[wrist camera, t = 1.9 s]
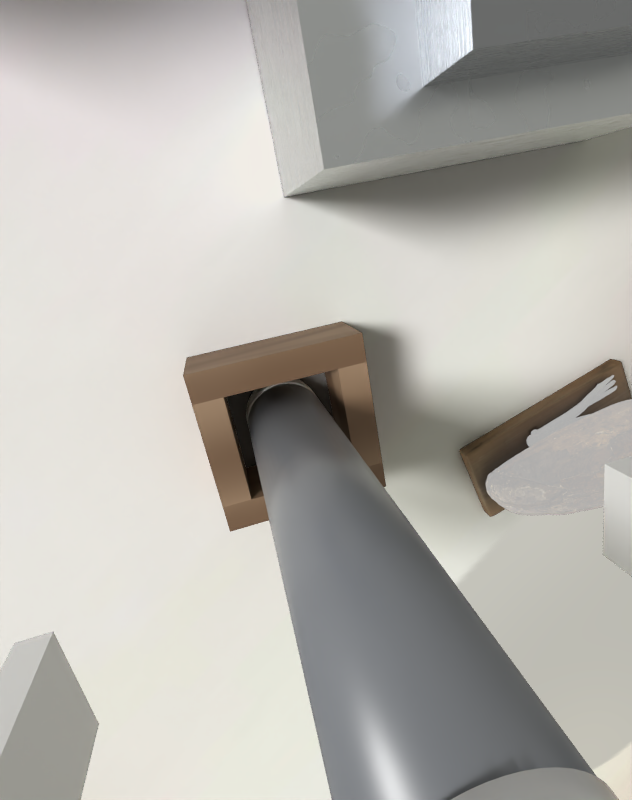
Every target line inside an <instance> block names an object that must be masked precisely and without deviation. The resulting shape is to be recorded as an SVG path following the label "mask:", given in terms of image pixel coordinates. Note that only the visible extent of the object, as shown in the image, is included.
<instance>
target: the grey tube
mask: <svg viewBox="0 0 632 800" xmlns="http://www.w3.org/2000/svg"><path fill="white" fill-rule="evenodd" d="M246 418H247V423H248V427H249V432H250V436H251V441H252V445H253V450H254V454H255V459H256V463H257V468H258V472H259V477H260V481H261V485H262V490H263V494H264V499H265V503H266V508H267V512H268V517H269V521H270V526H271V530H272V535H273V539H274V543H275V548H276V552H277V557H278V561H279V566H280V570H281V575H282V579H283V584H284V588H285V592H286V597H287V601H288V606H289V610H290V615H291V619H292V624H293V628H294V633H295V637H296V642H297V646H298V650H299V655H300V659H301V664H302V668H303V673H304V677H305V682H306V686H307V691H308V695H309V700H310V704H311V708H312V713H313V717H314V722H315V726H316V731H317V735H318V740H319V744H320V749H321V753H322V757H323V762H324V766H325V771H326V775H327V780H328V784H329V789H330V793H331V798H332V800H619V799H618V798H617V796H616V795H615V794H614V792H613V791H612V790H611V789H610V787H609V786H608V785H607V784H606V783H605V782H604V781H602V780H601V779H599V778H598V777H597V776H596V775H595V774H594V772H593V771H592V769H591V768H590V767H589V765H588V764H587V763H586V761H585V760H584V759H583V757H582V756H581V755H580V753H579V752H578V751H577V749H576V748H575V746H574V745H573V744H572V742H571V741H570V740H569V738H568V737H567V736H566V734H565V733H564V732H563V730H562V729H561V727H560V726H559V725H558V723H557V722H556V721H555V719H554V718H553V717H552V715H551V714H550V712H549V711H548V710H547V708H546V707H545V706H544V704H543V703H542V702H541V700H540V699H539V697H538V696H537V695H536V694H535V692H534V691H533V689H532V688H531V687H530V685H529V684H528V683H527V681H526V680H525V679H524V677H523V676H522V675H521V673H520V672H519V670H518V669H517V668H516V666H515V665H514V664H513V662H512V661H511V659H510V658H509V657H508V655H507V654H506V653H505V651H504V650H503V649H502V647H501V646H500V645H499V643H498V642H497V640H496V639H495V638H494V636H493V635H492V634H491V632H490V631H489V630H488V628H487V627H486V626H485V624H484V623H483V621H482V620H481V619H480V617H479V616H478V615H477V613H476V612H475V611H474V609H473V608H472V607H471V605H470V604H469V603H468V601H467V600H466V598H465V597H464V596H463V594H462V593H461V592H460V590H459V589H458V588H457V586H456V585H455V583H454V582H453V581H452V579H451V578H450V577H449V575H448V574H447V573H446V571H445V570H444V569H443V567H442V566H441V564H440V563H439V562H438V560H437V559H436V558H435V556H434V555H433V554H432V552H431V551H430V550H429V548H428V547H427V545H426V544H425V543H424V541H423V540H422V539H421V537H420V536H419V535H418V533H417V532H416V531H415V529H414V528H413V526H412V525H411V524H410V522H409V521H408V520H407V518H406V517H405V516H404V514H403V513H402V512H401V510H400V509H399V507H398V506H397V505H396V503H395V502H394V501H393V499H392V498H391V497H390V495H389V494H388V492H387V491H386V490H385V488H384V487H383V486H382V484H381V483H380V482H379V480H378V479H377V478H376V476H375V475H374V473H373V472H372V471H371V469H370V468H369V467H368V465H367V464H366V463H365V461H364V460H363V459H362V457H361V456H360V454H359V453H358V452H357V450H356V449H355V448H354V446H353V445H352V444H351V442H350V441H349V440H348V438H347V437H346V435H345V434H344V433H343V431H342V430H341V429H340V427H339V426H338V425H337V423H336V422H335V421H334V419H333V418H332V416H331V415H330V414H329V412H328V411H327V410H326V408H325V407H324V406H323V404H322V403H321V402H320V400H319V399H318V397H317V396H316V395H315V393H314V392H313V391H312V389H311V388H310V387H309V386H308V385H307V384H306V383H304V382H303V381H301V380H299V379H296V380H292V381H288V382H284V383H280V384H276V385H272V386H267V387H263V388H259V389H255V390H254V391H253V393H252V394H251V396H250V398H249V400H248V403H247V407H246Z"/></svg>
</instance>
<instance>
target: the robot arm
mask: <svg viewBox="0 0 632 800" xmlns="http://www.w3.org/2000/svg"><path fill="white" fill-rule="evenodd" d="M603 522H604V523H603V555H604V556H605V557H606V558H608V559H609V560H611V561H612V562H613V563H614V564H616V565H617V566H618V567H620V568H621V569H622V570H623V571H625V572H626V573H627V574H629V575H630V576H631V577H632V456H629V457H626V458H623V459H619V460H616V461H613V462H609V463H606V464H605V473H604V521H603ZM98 725H99V723H98V721H97V719H96V717H95V715H94V713H93V711H92V709H91V707H90V705H89V703H88V701H87V699H86V697H85V695H84V693H83V691H82V689H81V687H80V685H79V683H78V681H77V679H76V677H75V675H74V673H73V671H72V669H71V667H70V665H69V663H68V661H67V659H66V656H65V654H64V652H63V650H62V648H61V646H60V644H59V642H58V640H57V638H56V636H55V634H54V632H50V633H47V634H43V635H40V636H37V637H34V638H30V639H27V640H24V641H20V642H17V643H14V645H13V647H12V649H11V651H10V653H9V655H8V657H7V659H6V661H5V663H4V665H3V667H2V668H1V670H0V800H81V796H82V791H83V787H84V783H85V779H86V775H87V771H88V767H89V762H90V758H91V754H92V750H93V746H94V742H95V737H96V733H97V729H98Z"/></svg>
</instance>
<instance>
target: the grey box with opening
mask: <svg viewBox="0 0 632 800" xmlns="http://www.w3.org/2000/svg"><path fill="white" fill-rule="evenodd" d="M246 4H247V10H248V15H249V20H250V25H251V30H252V35H253V40H254V45H255V51H256V56H257V61H258V66H259V71H260V76H261V81H262V87H263V92H264V97H265V102H266V107H267V112H268V117H269V123H270V128H271V133H272V138H273V143H274V148H275V153H276V158H277V164H278V169H279V174H280V179H281V184H282V189H283V194H284V197H287V196H293V195H298V194H303V193H309V192H314V191H319V190H324V189H330V188H335V187H340V186H346V185H351V184H356V183H362V182H367V181H372V180H377V179H383V178H388V177H393V176H399V175H404V174H409V173H414V172H420V171H425V170H430V169H436V168H441V167H446V166H452V165H457V164H462V163H467V162H473V161H478V160H483V159H489V158H494V157H499V156H505V155H510V154H515V153H520V152H526V151H531V150H536V149H542V148H547V147H552V146H557V145H563V144H568V143H573V142H579V141H584V140H588V139H592V138H595V137H598V136H602V135H605V134H609V133H612V132H616V131H619V130H623V129H626V128H629V127H632V0H246Z"/></svg>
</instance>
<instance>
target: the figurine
mask: <svg viewBox="0 0 632 800" xmlns="http://www.w3.org/2000/svg"><path fill="white" fill-rule="evenodd" d="M459 452H460V454H461V456H462V459H463V461H464V464H465V466H466V468H467V471H468V473H469V475H470V478H471V480H472V482H473V485H474V488H475V490H476V492H477V495H478V497H479V500H480V502H481V504H482V507H483V509H484V511H485V512H486V513H487V514H488V515H489V516H490V517H491V516H494V515H496V514H497V513H499V512H501V511H503V510H504V509H507V510H508V511H511V512H514V513H517V514H521V515H548V514H549V515H564V514H570V513H575V512H580V511H585V510H590V509H595V508H600V507H604V473H605V464H606V463H609V462H613V461H616V460H619V459H623V458H626V457H629V456H632V398H631V394H630V390H629V387H628V383H627V380H626V376H625V373H624V369H623V366H622V363H621V362H620V361H617V360H613V359H610V360H608V361H606V362H605V363H603V364H601V365H600V366H598V367H597V368H595V369H593V370H592V371H590V372H588V373H587V374H585V375H583V376H582V377H580V378H578V379H577V380H575V381H573V382H572V383H570V384H568V385H567V386H565V387H563V388H562V389H560V390H558V391H557V392H555V393H553V394H552V395H550V396H548V397H547V398H545V399H543V400H542V401H540V402H538V403H537V404H535V405H533V406H532V407H530V408H528V409H527V410H525V411H523V412H521V413H520V414H518V415H516V416H515V417H513V418H511V419H510V420H508V421H507V422H505V423H503V424H502V425H500V426H498V427H497V428H495V429H493V430H492V431H490V432H488V433H487V434H485V435H483V436H482V437H480V438H478V439H477V440H475V441H473V442H472V443H470V444H468V445H467V446H465V447H463V448H462V449H460V451H459Z"/></svg>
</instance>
